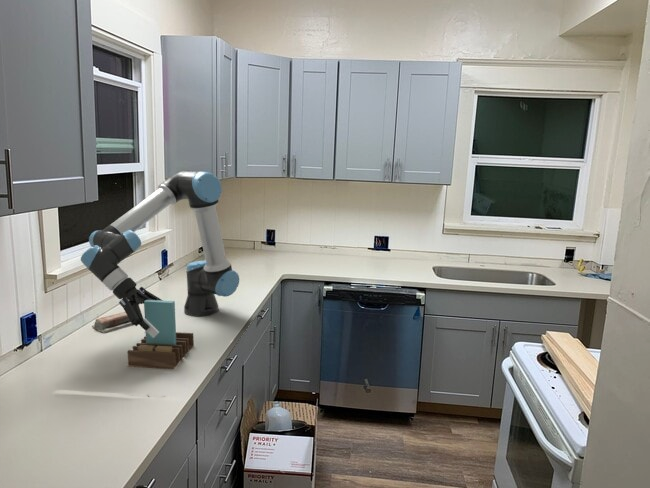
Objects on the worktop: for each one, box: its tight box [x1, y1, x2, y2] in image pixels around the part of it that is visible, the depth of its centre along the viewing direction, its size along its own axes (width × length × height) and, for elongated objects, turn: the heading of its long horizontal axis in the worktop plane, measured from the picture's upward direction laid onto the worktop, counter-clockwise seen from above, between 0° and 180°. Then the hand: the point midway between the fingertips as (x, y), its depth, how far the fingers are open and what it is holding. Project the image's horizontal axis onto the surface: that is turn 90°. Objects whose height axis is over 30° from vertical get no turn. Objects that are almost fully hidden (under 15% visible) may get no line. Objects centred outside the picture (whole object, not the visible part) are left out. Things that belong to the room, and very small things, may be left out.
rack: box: [126, 331, 195, 370], centre depth 166 cm, size 19×16×6 cm
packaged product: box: [91, 311, 145, 334], centre depth 197 cm, size 18×5×10 cm
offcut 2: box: [155, 346, 172, 352], centre depth 160 cm, size 2×5×6 cm, turn 86°
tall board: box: [143, 299, 177, 345], centre depth 165 cm, size 2×10×20 cm, turn 85°
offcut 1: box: [138, 345, 155, 351], centre depth 160 cm, size 2×5×6 cm, turn 85°
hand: (164, 327), depth 164 cm, fingers open, 13 cm apart
